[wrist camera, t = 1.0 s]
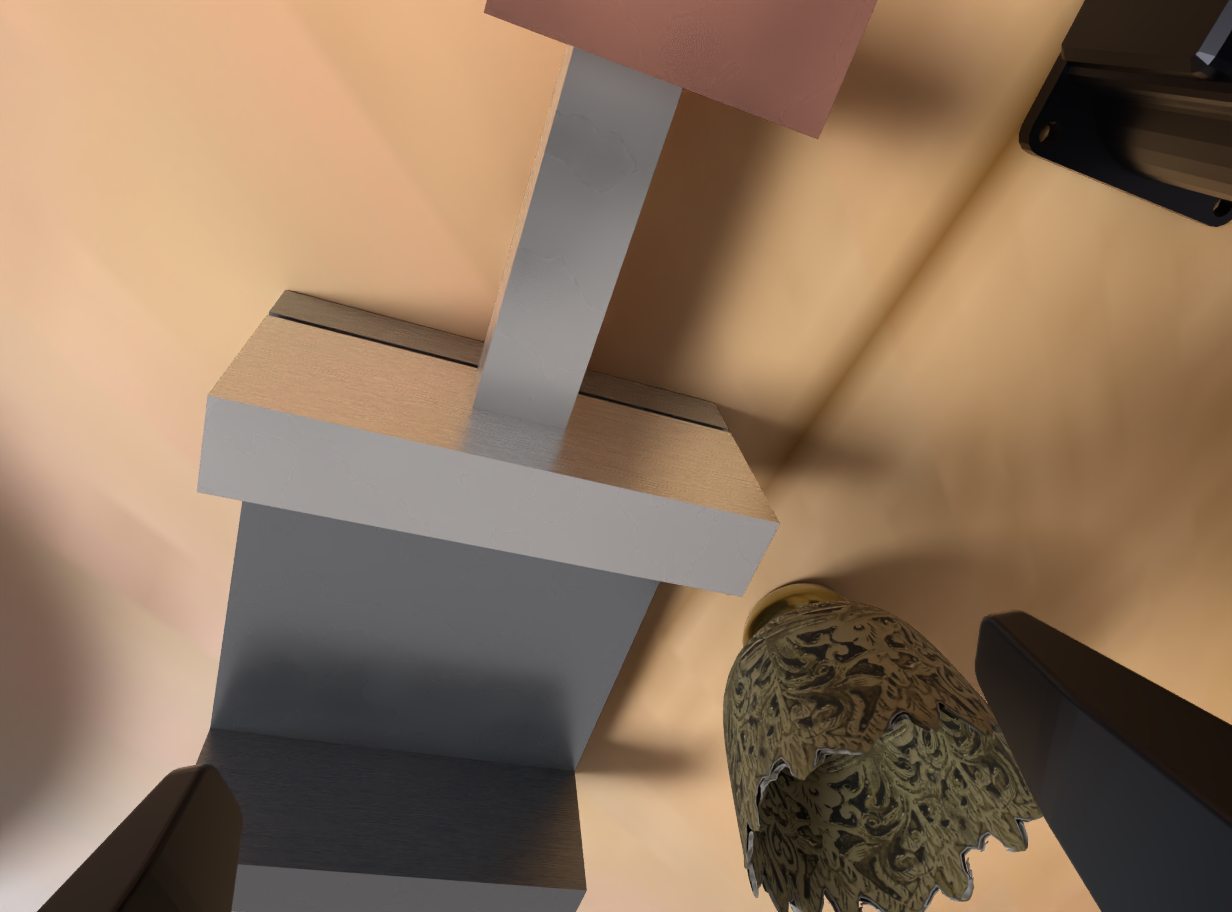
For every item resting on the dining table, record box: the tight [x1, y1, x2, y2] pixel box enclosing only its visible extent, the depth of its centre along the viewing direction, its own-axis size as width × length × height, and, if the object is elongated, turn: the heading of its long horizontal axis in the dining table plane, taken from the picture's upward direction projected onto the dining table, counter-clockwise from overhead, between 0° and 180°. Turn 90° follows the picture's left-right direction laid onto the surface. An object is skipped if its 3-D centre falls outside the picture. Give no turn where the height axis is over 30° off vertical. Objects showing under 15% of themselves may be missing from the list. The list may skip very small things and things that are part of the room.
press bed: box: [196, 290, 728, 912], centre depth 21 cm, size 11×15×6 cm
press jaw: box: [197, 0, 877, 597], centre depth 15 cm, size 11×11×5 cm
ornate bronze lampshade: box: [723, 583, 1043, 912], centre depth 22 cm, size 8×7×8 cm
